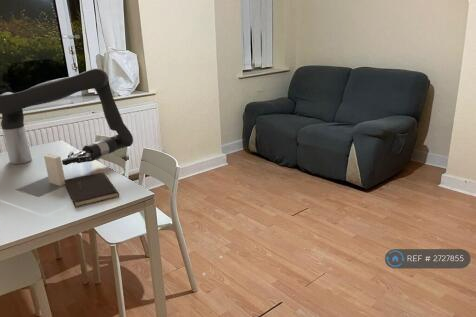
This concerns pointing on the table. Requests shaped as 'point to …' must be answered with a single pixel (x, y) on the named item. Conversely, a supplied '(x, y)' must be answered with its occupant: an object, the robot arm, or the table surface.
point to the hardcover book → (90, 189)
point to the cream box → (54, 169)
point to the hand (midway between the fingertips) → (63, 162)
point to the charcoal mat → (39, 187)
